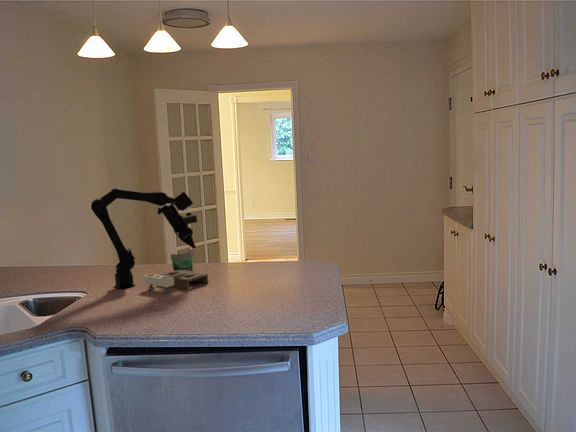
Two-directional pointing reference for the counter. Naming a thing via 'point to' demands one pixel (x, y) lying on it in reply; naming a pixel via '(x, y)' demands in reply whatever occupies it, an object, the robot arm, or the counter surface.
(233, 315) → the counter surface
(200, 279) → the keyhole board
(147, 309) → the counter surface
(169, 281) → the power strip
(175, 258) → the food container
